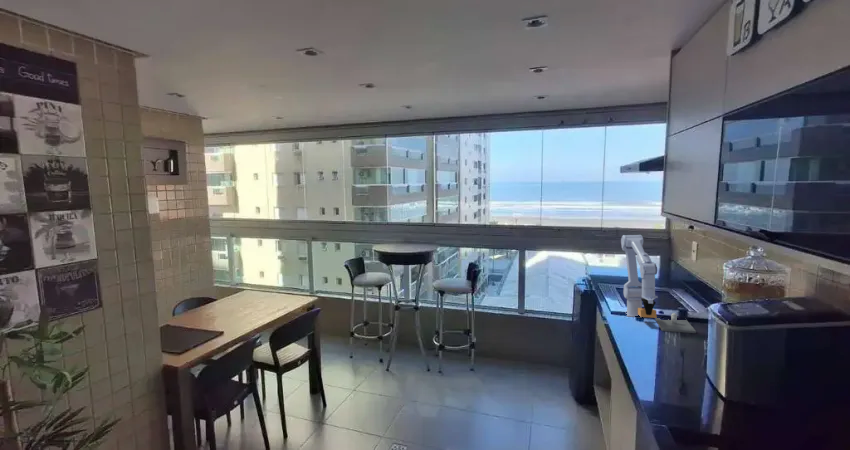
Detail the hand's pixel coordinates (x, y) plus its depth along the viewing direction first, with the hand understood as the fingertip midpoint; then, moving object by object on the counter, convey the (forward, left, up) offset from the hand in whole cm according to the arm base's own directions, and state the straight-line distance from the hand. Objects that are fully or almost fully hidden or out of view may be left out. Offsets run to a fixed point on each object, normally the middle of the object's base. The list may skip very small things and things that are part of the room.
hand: (648, 313), depth 198 cm
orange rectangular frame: (-4, 0, -2) cm, 5 cm away
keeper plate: (-5, +12, -6) cm, 14 cm away
